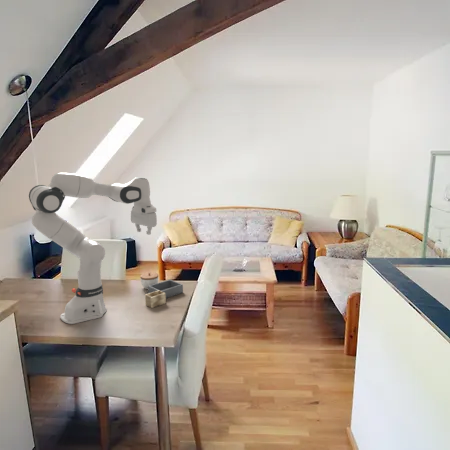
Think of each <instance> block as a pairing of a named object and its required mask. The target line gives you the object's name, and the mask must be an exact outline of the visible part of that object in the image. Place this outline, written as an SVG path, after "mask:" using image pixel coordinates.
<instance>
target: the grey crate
mask: <svg viewBox="0 0 450 450" xmlns="http://www.w3.org/2000/svg"><path fill="white" fill-rule="evenodd" d="M158 290H160V291H162V292H164V293H165V294H166V299H169V298H172V297H174V296H178V295H181V294H183V293H184V285H183V284H182V283H180V282H177V281H175V280H172V279H167V280H163V281H161V282H158V283H157V284H153V285H150V286H148V289H147V291H148V293H152V292H155V291H158Z"/></svg>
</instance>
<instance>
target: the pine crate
mask: <svg viewBox="0 0 450 450" xmlns="http://www.w3.org/2000/svg"><path fill="white" fill-rule="evenodd" d="M144 298H145V299H144V301H145V306H146V307H149V308H151V309H153V308H157V307H160V306H162V305H166V304H167V301H166V300H167V298H166V294H165V293H164V292H162V291H160V290H158V291H155V292H152V293H149V292H148V293H146V294H144Z"/></svg>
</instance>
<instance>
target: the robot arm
mask: <svg viewBox="0 0 450 450" xmlns="http://www.w3.org/2000/svg"><path fill="white" fill-rule="evenodd" d="M92 196H100V197H106V198H108V199H111V200H112V201H113V202H116V203H123V204H126V205H128V204H133V206H132V208H131V211H130V222H131V223H133V224H134V225H135V227H136V231H137V233H141V232H142V228H141V227H140V226H144V227H146V228H147V230H146V235H151V234H152V230H153V228H155V227H157V224H158V223H157V221H158V220H157V208H156V207H155V206H154V205H153V204H152V203H151V202H152V201H151V198H150V196H151V187H150V182H149V180H148V179H147V178H144V177H138V176H137V177H133V178H132V180H131V181H128V182H126V183H121V182H115V183H113V184H111V183H110V184H106V183H101V182H100V183H99V182H96V181H94V180H93V178H91V177H88V176H86V175H82V174H77V173H70V172H58V173H55V174H54V175H52V177H51V180H50V184H48V186H47V185H44V184H39V185H35V186H33V187H32V188H31V189H30V191H29V194H28V199H29V202H30V205H31V207H32V209H33V210H34V211H35V213H34V215H33V216H32V219H31V223H32V226H33V227H34V229H36V230H37V231H38V232H39V233H41V234H42V235H44V236H45V237H46V238H47V239H49V240H51V241H52V242H54V243H55V244H57V245H58V246H60V247H61V248H63V249H64V250H66V251H67V252H69V253H71V255H73V256H74V257H76V258H78V259H79V270H78V271H77V283H78V287H77V288H71V292H72V293H74V294H75V295H74V296H73V297H72V298H71V299H70V300H69V301H68V302H67V303H66V304H65V306H64V307H65V308H64V312H63V313H61V314H60V316H59V317H60V319H61V321H62V322H64V323H66V324H69V325H74V324H78V323H82V322H88V321H91V320H95V319H100V318H102V317H103V316H104V314H105V313H106V312H107V311H108V309H107V307H106V303H105V301H104V295H103V294H104V288H103V284H102V275H101V271H102V270H101V267H102V263H103V260H104V258H105V257H106V249H105V248H104V247H103V245H102V244H101V243H99V242H98V241H96V240H94V239H92V238H90V237H88V236H86V235H85V234H84V233H82V232H81V231H80V230H79V229H78V228H77V227H75V226H73V224H71V223H69V222H68V221H66V220H65V219H64V218H62V217H61V216H59V215H58V214H57V213H56V212H58V211H59V210H60V209H61V207H62V206H63V202H64V200H65V199H66V197H70V198H77V199H87V198H88V199H89V198H90V197H92Z"/></svg>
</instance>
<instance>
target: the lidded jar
mask: <svg viewBox="0 0 450 450" xmlns="http://www.w3.org/2000/svg"><path fill="white" fill-rule="evenodd" d="M139 276H140V277H139V278H140V283H141V286H142V287H143V288H144V289H145V290H148V286H150V285H153V284H157V283H159V274H158V273H156V272H151V271H149V272H144V273H142V274H141V275H139Z"/></svg>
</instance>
